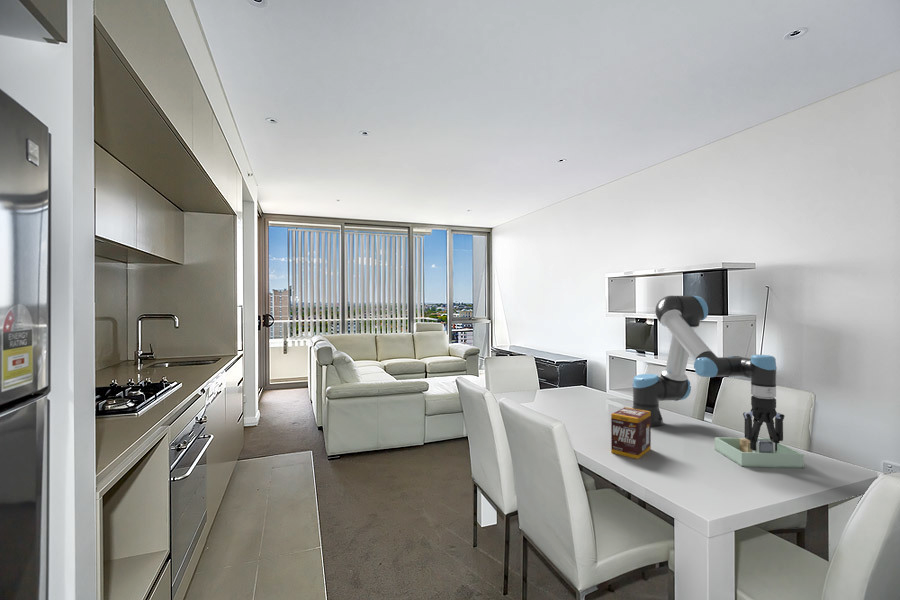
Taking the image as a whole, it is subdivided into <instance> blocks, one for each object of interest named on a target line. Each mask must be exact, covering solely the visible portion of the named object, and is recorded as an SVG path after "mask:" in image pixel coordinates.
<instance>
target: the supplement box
mask: <svg viewBox="0 0 900 600" xmlns="http://www.w3.org/2000/svg"><path fill="white" fill-rule="evenodd" d="M610 416H611V418H610V423H611V424H610V425H611V427H610V428H611V429H610V432H611V434H610V435H611V438H610V439H611V441H610V442H611V443H610V444H611V448H610V449H611V453H612V454H614V455H615V454H616V455H619V456H623V457H626V458H631V459H636V460H639V459H640V458H641V457H643V456H644V455H646V454H647V453H648V452H649V451H651V449H652V446H651V445H652V444H651V443H652V442H651V440H652V439H651V438H652V437H651V436H652V435H651V429H652V426H651V412H650V411H645V410H639V409H634V408H632V407H622V408H621V409H619V410H617V411H615V412H613V413H611V415H610Z"/></svg>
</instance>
